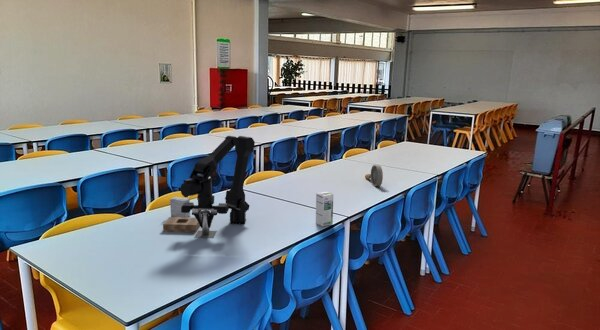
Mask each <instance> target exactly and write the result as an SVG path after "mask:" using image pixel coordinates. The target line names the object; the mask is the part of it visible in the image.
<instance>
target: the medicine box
mask: <svg viewBox="0 0 600 330" xmlns="http://www.w3.org/2000/svg"><path fill="white" fill-rule="evenodd" d="M190 200H191V199H190V198H189V197H183V196H182V197H181V196H173V197H172V198H170V199H169V201H170V203H169V204H170V217H189V218H190V216H191V211H190V212H189V213H182V212H181V207H182V205H183V204H184V203H185V202H190V203H191V201H190Z"/></svg>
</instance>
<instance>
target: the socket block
mask: <svg viewBox="0 0 600 330" xmlns="http://www.w3.org/2000/svg"><path fill="white" fill-rule="evenodd" d="M200 228H201V227H200V225H199V223H198V221H197V219H196V218H195V217H190V216H189V217H171V216H169V217H167V219H166V220H165V221H164V223H163V224H162V230H163V231H162V232H172V233H173V232H174V233H176V232H177V233H197V232H198V230H200Z"/></svg>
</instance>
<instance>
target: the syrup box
mask: <svg viewBox="0 0 600 330" xmlns="http://www.w3.org/2000/svg"><path fill="white" fill-rule="evenodd" d="M333 211H334V194H333V193H331V192H329V191H323V192H317V193H315V224H317V225H319V226H321V227H327V226H330V225H331V226H332V225H333V220H334V219H333V218H334V215H333V214H334V212H333Z"/></svg>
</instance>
